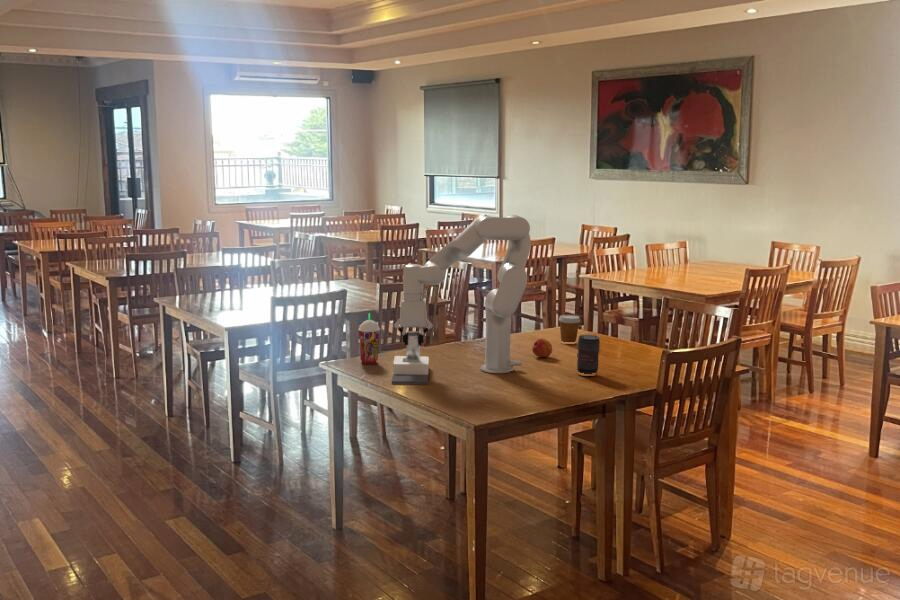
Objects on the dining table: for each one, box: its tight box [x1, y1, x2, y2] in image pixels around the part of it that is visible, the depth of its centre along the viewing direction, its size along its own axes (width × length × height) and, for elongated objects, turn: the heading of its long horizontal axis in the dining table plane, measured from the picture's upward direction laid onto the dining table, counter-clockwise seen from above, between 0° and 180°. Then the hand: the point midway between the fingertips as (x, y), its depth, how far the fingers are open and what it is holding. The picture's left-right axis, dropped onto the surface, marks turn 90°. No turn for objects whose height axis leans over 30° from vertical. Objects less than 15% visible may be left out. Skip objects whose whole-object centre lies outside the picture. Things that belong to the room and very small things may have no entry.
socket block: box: [392, 355, 430, 376], centre depth 333 cm, size 13×13×4 cm
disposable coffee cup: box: [558, 314, 581, 342], centre depth 387 cm, size 10×10×12 cm
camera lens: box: [576, 334, 601, 374], centre depth 332 cm, size 8×8×15 cm
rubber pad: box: [391, 373, 429, 385], centre depth 320 cm, size 13×10×1 cm
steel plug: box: [406, 330, 421, 360], centre depth 332 cm, size 5×5×10 cm
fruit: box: [531, 338, 553, 358], centre depth 360 cm, size 8×8×8 cm
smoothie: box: [358, 312, 381, 365], centre depth 344 cm, size 8×8×20 cm
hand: (413, 344), depth 331 cm, fingers closed on steel plug, 5 cm apart
